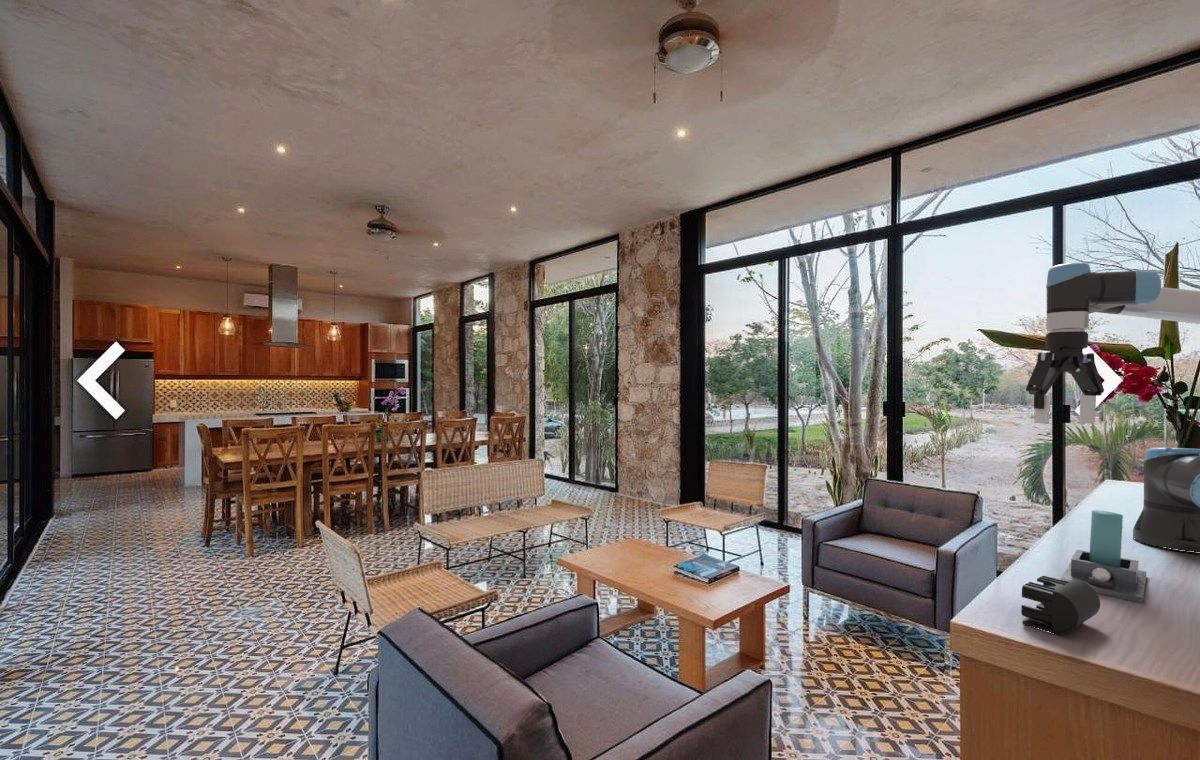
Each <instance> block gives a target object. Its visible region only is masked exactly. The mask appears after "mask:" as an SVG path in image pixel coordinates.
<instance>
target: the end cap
mask: <svg viewBox="0 0 1200 760" xmlns="http://www.w3.org/2000/svg"><path fill="white" fill-rule="evenodd" d="M1036 582H1039V583H1040V584H1039V583H1036ZM1036 582H1032V581H1029V582H1026V583H1025V584H1023V585H1022V586H1021V598H1024V599H1028V600H1031V601H1034V602H1038V604H1037V605H1036V608H1035V607H1033V606H1030V605H1025V604H1021V610H1020V611H1021V613H1020V614H1021V616H1023V617H1025V618H1023V619H1022V623H1023V624H1022V625H1024V624H1025V625H1024V626H1026V625H1028V626H1027V627H1029V626H1031V627H1030V628H1032V627H1035V628H1039V629H1042V630H1045V631H1049V632H1051V633H1054V634H1058V635H1057V636H1059V635H1063V634H1066V633H1069V632H1072V630H1075V629H1076V628H1077V627H1079V626H1080V625H1082V624H1084V623H1085V622H1086V621H1088V620H1089V619H1092V618H1093V617H1094V616H1096V614H1098V613H1099V611H1100V608H1101V599H1100V596H1099V594H1098V593H1096V591H1095V590H1094V589H1093V588H1092V587H1091V586H1090V585H1088V584H1087V583H1085V582H1083V581H1081V580H1078V579H1074V580H1072V581H1070V582H1066V581H1063V580H1060V579H1058V578H1055V577H1050V576H1047V575H1041V576H1040V577H1038V578H1036ZM1041 583H1042V584H1041ZM1035 628H1034V629H1035ZM1054 634H1053V635H1054Z"/></svg>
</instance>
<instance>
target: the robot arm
mask: <svg viewBox="0 0 1200 760" xmlns="http://www.w3.org/2000/svg"><path fill="white" fill-rule="evenodd" d="M1045 287H1046V323H1045V329H1046V331H1048V332H1047V333H1046V334H1045V348H1046V349H1048V350H1049V351H1039V352H1038V353H1037V360H1036V363H1035V366H1034V369H1033V370H1032V373H1031V375H1030V378H1029V380H1028V382H1027V385H1026V387H1025V391H1026V392H1028V394H1029V395H1033V408H1034V424H1042V425H1044V424H1045V425H1049V424H1050V400H1051V399H1050V397H1051V395H1050V394H1049V395H1048V394H1047V393H1048V392H1049V390H1050V389H1051V388H1052V386H1053V385H1054V383H1055V382H1056V380H1057V378H1059V376H1060V375H1061V374H1063V373H1068V374H1070V375H1071V376H1072V378H1073V379H1074V381H1075V382H1076V384H1077V386H1078V388H1079V389H1080V391H1081V393H1082V394H1083V395H1082V394H1081V395H1080V396H1079V424H1089V425H1090V424H1092V425H1094V424H1095V423H1096V422H1095V421H1096V420H1095V419H1096V417H1095V416H1096V415H1095V414H1096V407H1097V406H1096V403H1097V402H1096V400H1097V396H1098V397H1100V396H1102V394H1103V393H1104V392H1105V388H1104V385H1103V382H1102V379H1101V377H1100V373H1099V371H1098V368H1097V366H1096V363H1095V354H1094V353H1093V352H1088V353H1087V352H1085V353H1083V350H1085V349H1087V348H1088V347H1089V332H1087V331H1086V330H1088V329H1090V319H1089V318H1090V314H1094V313H1101V314H1108V315H1109V314H1110V315H1121V316H1127V317H1128V316H1129V317H1137V318H1144V319H1145V318H1146V319H1154V320H1162V321H1171V322H1179V323H1187V324H1196V325H1200V290H1196V289H1195V290H1193V289H1184V288H1183V289H1182V288H1172V287H1165V286H1164V287H1163V286H1162V280H1161V277H1160V274H1158V273H1157V272H1156V271H1153V270H1139V269H1135V270H1126V271H1125V270H1123V271H1105V272H1103V271H1102V272H1099V271H1098V272H1095V271H1092V269H1091V266H1090V264H1089V263H1086V262H1070V263H1061V264H1057V265H1054V266H1052V267H1050V268H1049V270H1048V271H1047V279H1046V285H1045ZM1142 463H1143V468H1144V469H1143V507H1142V510H1141V512H1140V514H1139V516H1138V518H1137V520H1136V522H1135V524H1134V527H1133V528H1132V539H1133V538H1135V539H1136V540H1138V541H1137V542H1139V541H1140V542H1139V543H1141V542H1143V543H1142V544H1144V543H1146V544H1145V545H1148V544H1150V545H1149V546H1151V545H1155V546H1159V547H1158V548H1160V547H1166V548H1171V549H1178V550H1185V551H1194V552H1200V448H1186V447H1184V448H1183V447H1150V448H1148V449H1147V450H1146V451H1145V453H1144V460H1143V462H1142ZM1135 539H1134V540H1135ZM1136 540H1135V541H1136ZM1155 546H1154V547H1155Z"/></svg>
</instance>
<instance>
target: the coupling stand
mask: <svg viewBox="0 0 1200 760" xmlns="http://www.w3.org/2000/svg"><path fill="white" fill-rule="evenodd" d="M1089 556H1090V551H1085V550H1081V549H1076V550H1075V553H1073V555H1072V557H1071V558H1070V559H1071V560H1070V562H1069V564H1068V566H1067V568H1066V570H1065V571H1064V573H1063V575H1062V576H1061V578H1060V579H1059V580H1063V581H1066V582H1070V581H1072V580H1074V579H1078V580H1081V581H1083V582H1085V583H1087V584H1088V585H1090V586H1091V587H1092V588H1093V589H1094V590H1095V591H1096V593H1097V594H1098V595H1099V594H1100V595H1104V596H1109V597H1114V598H1118V599H1122V600H1126V601H1127V600H1128V601H1131V602H1135V603H1140V604H1143V600H1144V595H1145V587H1146V582H1147V580H1146V579H1147V571H1144V570H1139V560H1135V559H1130V558H1124V557H1121V560H1120V567H1115V566H1110V565H1105V564H1100V563H1095V562H1089Z"/></svg>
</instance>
